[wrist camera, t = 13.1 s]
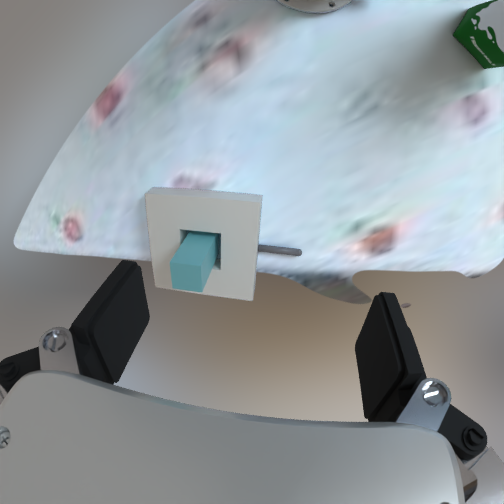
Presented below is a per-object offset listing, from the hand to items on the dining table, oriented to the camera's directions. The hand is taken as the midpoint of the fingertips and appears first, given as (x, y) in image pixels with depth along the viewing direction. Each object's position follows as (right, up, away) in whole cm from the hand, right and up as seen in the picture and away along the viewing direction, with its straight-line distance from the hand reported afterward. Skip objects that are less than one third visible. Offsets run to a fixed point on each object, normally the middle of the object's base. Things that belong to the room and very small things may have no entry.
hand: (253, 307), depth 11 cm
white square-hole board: (-4, +3, +33) cm, 34 cm away
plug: (-7, +4, +34) cm, 34 cm away
